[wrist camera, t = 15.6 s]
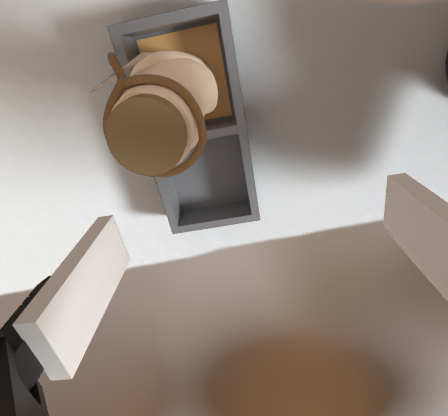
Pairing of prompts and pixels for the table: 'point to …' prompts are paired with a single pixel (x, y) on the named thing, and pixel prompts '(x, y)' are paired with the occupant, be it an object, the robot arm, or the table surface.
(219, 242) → the table surface
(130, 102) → the water bottle
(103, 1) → the table surface
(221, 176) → the bottle caddy
